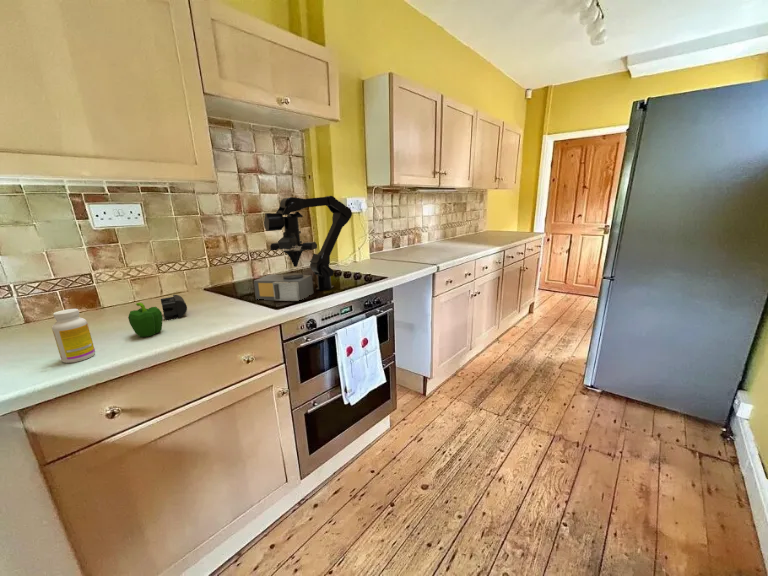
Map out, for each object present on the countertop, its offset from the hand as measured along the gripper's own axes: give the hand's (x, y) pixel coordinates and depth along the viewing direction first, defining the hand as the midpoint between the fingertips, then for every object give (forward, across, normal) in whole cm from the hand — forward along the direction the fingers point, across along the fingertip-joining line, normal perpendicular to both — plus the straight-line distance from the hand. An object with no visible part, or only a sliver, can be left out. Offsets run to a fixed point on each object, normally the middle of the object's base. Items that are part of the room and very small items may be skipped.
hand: (295, 266), depth 139 cm
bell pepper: (+12, -25, -49) cm, 56 cm away
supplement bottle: (+12, -29, -66) cm, 73 cm away
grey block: (+12, -4, -4) cm, 13 cm away
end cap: (+12, -32, -32) cm, 47 cm away
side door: (+11, +1, -12) cm, 16 cm away
